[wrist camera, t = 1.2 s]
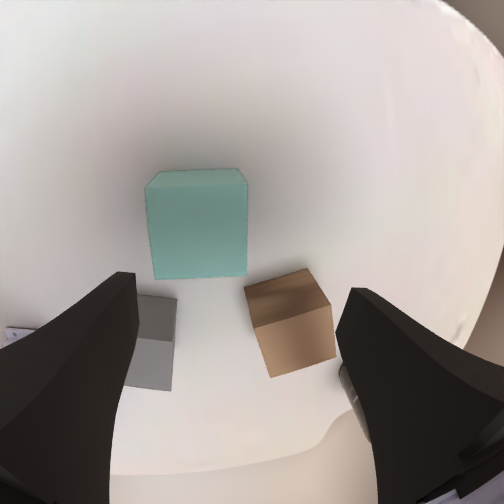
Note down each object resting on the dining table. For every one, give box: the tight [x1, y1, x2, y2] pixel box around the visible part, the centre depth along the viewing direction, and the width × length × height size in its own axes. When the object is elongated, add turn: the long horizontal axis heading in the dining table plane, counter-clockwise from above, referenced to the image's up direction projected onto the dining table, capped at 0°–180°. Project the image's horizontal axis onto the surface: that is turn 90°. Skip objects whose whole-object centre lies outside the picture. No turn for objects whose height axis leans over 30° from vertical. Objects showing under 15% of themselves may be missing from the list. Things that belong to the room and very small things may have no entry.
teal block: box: [145, 169, 248, 280], centre depth 17 cm, size 5×5×5 cm
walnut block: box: [244, 268, 336, 378], centre depth 21 cm, size 5×5×5 cm
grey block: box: [124, 294, 177, 391], centre depth 20 cm, size 5×5×5 cm
